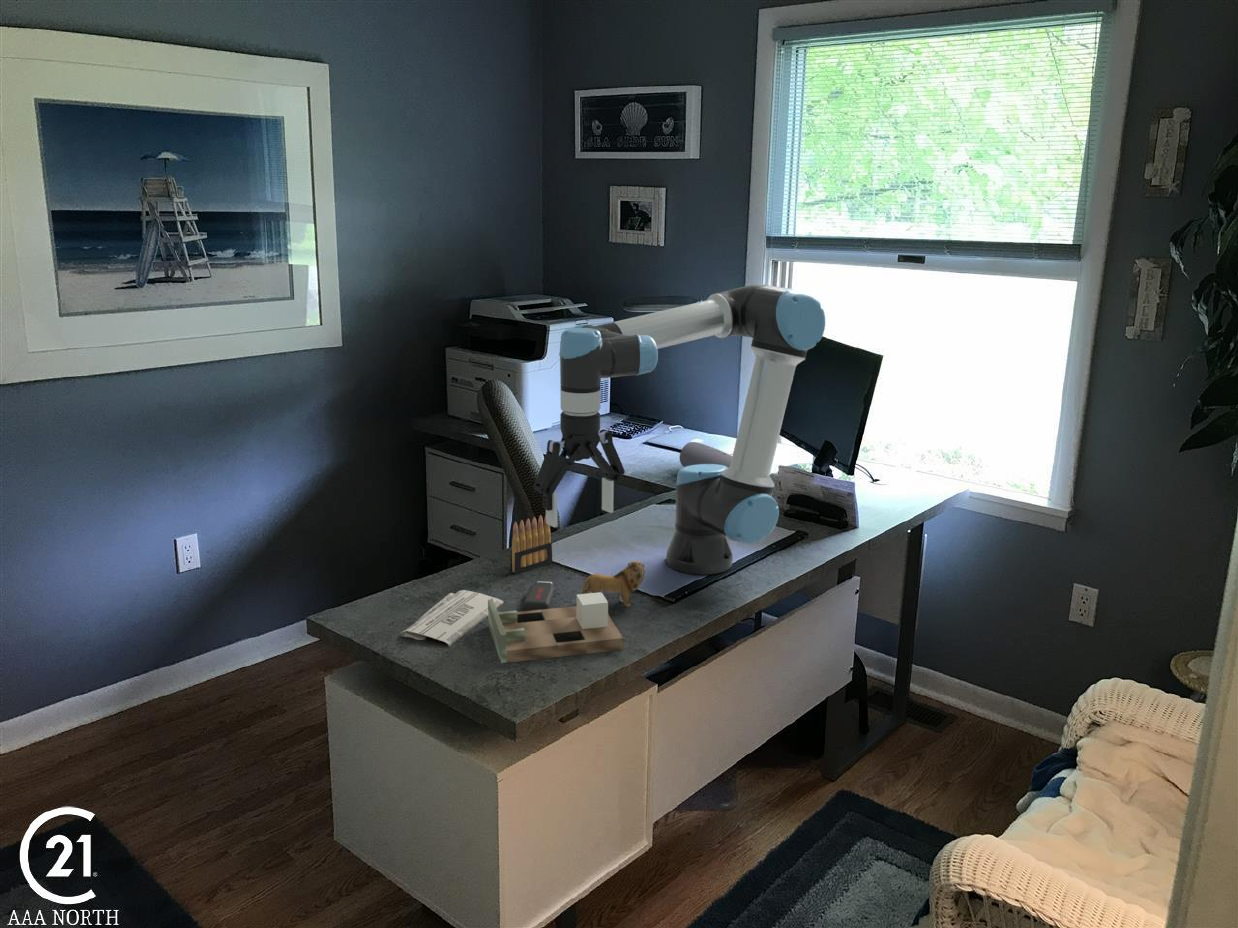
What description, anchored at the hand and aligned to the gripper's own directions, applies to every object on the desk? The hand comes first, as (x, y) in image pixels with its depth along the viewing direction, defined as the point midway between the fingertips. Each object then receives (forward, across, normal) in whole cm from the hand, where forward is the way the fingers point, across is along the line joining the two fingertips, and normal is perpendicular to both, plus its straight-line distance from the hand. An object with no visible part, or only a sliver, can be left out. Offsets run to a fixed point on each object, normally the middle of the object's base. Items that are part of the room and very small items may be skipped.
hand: (580, 518), depth 196 cm
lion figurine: (+22, -10, -3) cm, 24 cm away
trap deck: (+22, +9, +3) cm, 24 cm away
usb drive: (+22, +1, -13) cm, 26 cm away
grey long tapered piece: (+22, -87, -51) cm, 103 cm away
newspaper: (+22, +20, -16) cm, 34 cm away
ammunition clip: (+22, -8, -29) cm, 37 cm away
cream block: (+19, +2, +6) cm, 20 cm away
